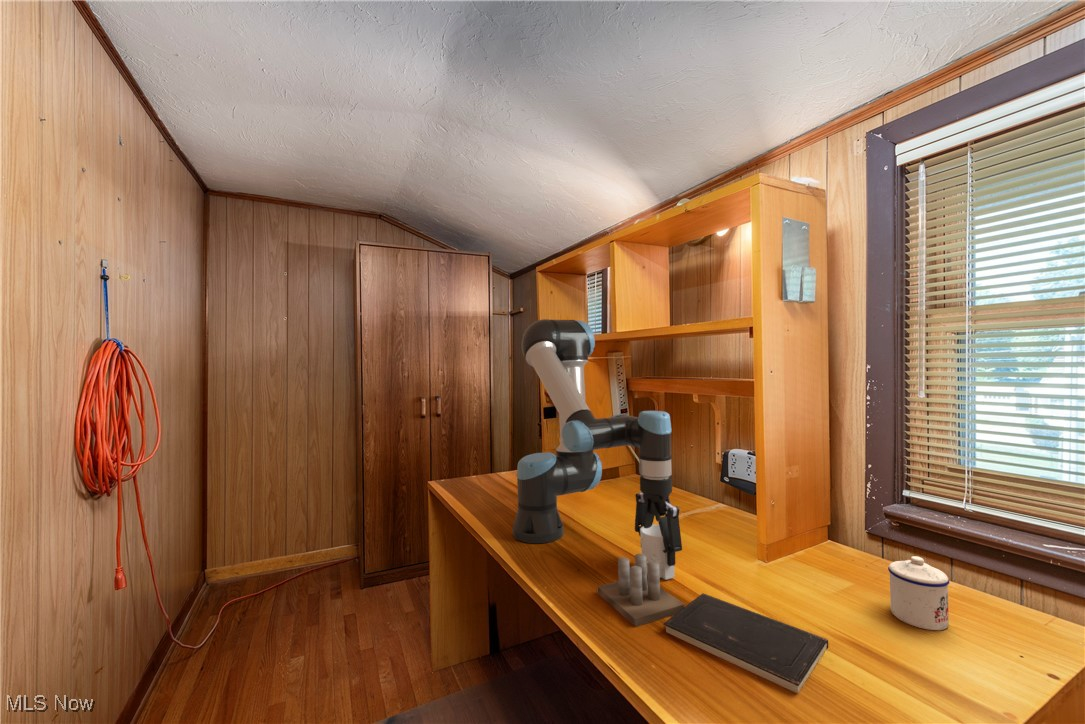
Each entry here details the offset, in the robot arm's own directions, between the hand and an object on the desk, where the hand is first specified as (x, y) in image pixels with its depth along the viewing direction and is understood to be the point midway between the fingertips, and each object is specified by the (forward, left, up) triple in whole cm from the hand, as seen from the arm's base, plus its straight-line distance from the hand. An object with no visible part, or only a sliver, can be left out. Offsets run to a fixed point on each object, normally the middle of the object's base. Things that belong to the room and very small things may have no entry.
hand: (657, 570), depth 108 cm
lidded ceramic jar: (+37, +34, -1) cm, 50 cm away
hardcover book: (+28, -3, -1) cm, 28 cm away
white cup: (0, 0, -1) cm, 1 cm away
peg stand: (+9, -12, 0) cm, 15 cm away
